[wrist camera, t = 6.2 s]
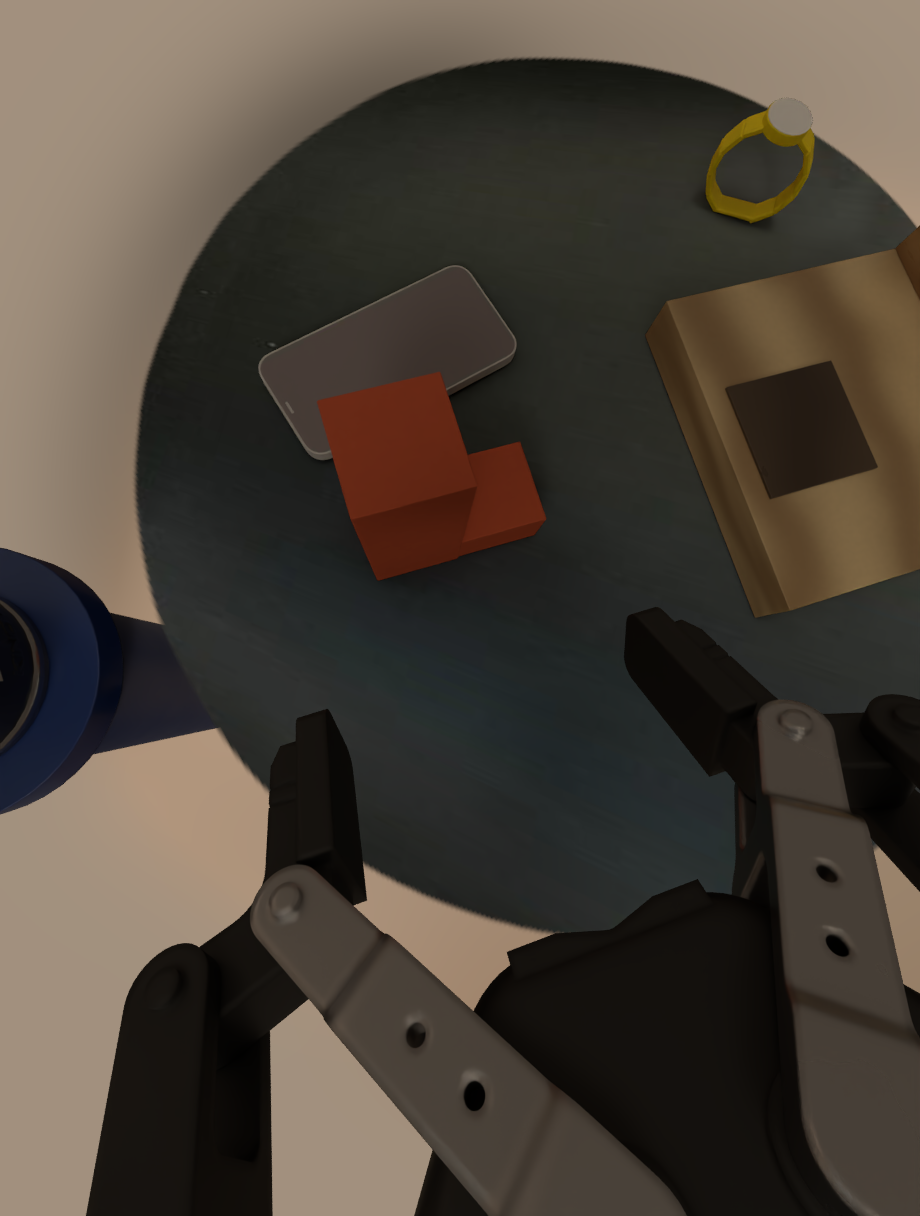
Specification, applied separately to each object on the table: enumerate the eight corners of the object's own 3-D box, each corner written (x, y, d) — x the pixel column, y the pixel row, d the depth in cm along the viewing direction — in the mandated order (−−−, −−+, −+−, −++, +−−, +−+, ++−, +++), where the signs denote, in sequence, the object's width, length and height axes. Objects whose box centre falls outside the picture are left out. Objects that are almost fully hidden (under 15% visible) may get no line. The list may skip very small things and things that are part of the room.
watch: (774, 209, 35) (845, 115, 30) (766, 241, 35) (836, 151, 29) (697, 181, 35) (752, 80, 29) (687, 212, 35) (741, 116, 29)
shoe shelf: (754, 617, 31) (851, 598, 24) (644, 335, 33) (703, 243, 26) (994, 541, 33) (1147, 502, 26) (873, 280, 35) (984, 182, 28)
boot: (377, 581, 29) (350, 520, 18) (354, 503, 30) (316, 399, 19) (535, 536, 30) (598, 454, 19) (510, 462, 31) (557, 343, 20)
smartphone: (524, 350, 31) (313, 461, 29) (521, 359, 32) (317, 468, 30) (461, 259, 32) (250, 361, 29) (460, 270, 33) (256, 371, 30)
